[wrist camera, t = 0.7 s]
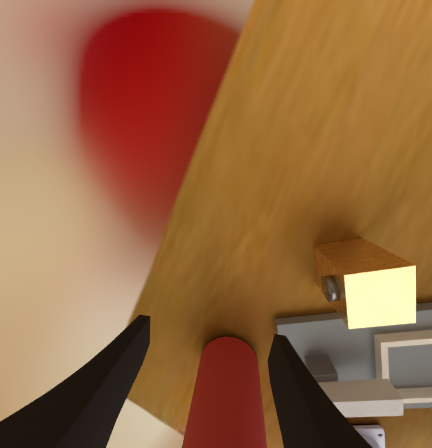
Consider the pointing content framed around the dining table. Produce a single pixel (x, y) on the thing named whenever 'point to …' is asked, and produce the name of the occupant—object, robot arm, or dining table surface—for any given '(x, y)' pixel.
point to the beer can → (226, 398)
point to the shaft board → (366, 361)
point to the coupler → (366, 283)
